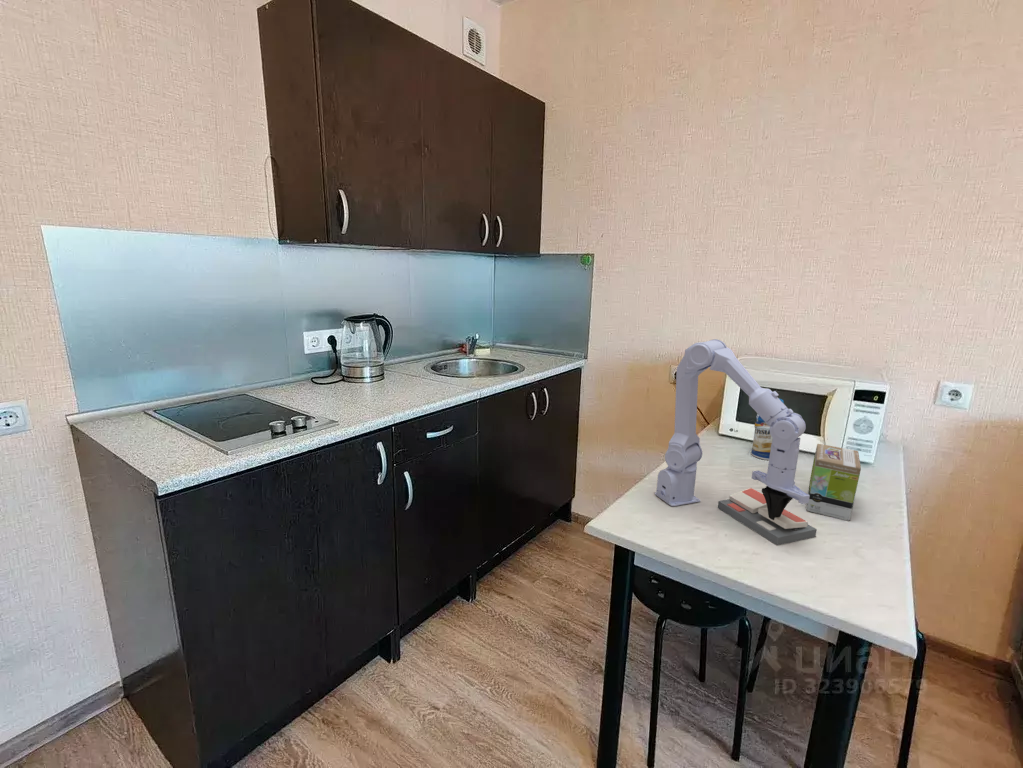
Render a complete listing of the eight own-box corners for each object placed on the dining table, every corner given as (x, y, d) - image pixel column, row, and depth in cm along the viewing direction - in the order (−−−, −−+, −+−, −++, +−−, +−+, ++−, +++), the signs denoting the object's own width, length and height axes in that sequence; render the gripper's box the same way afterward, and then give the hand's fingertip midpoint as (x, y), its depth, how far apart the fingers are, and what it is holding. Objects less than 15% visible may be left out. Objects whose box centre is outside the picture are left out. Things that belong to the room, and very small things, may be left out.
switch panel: (776, 545, 114) (778, 535, 114) (717, 507, 132) (718, 498, 131) (815, 536, 118) (817, 526, 118) (753, 501, 136) (754, 492, 135)
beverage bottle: (781, 456, 169) (790, 399, 164) (773, 463, 163) (782, 404, 158) (755, 449, 174) (763, 394, 170) (746, 456, 168) (754, 399, 164)
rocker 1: (753, 513, 124) (753, 509, 124) (729, 499, 132) (729, 495, 131) (774, 504, 126) (774, 500, 126) (750, 491, 134) (750, 487, 133)
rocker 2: (785, 528, 115) (786, 523, 115) (757, 512, 123) (758, 508, 122) (806, 526, 118) (808, 521, 118) (778, 511, 125) (780, 506, 125)
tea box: (851, 522, 126) (862, 467, 122) (805, 511, 131) (814, 458, 127) (849, 499, 138) (859, 449, 134) (807, 490, 143) (816, 441, 140)
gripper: (823, 475, 111) (813, 530, 114) (770, 452, 124) (762, 502, 127) (799, 479, 108) (790, 535, 112) (748, 455, 122) (741, 506, 125)
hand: (774, 518), depth 119 cm, fingers closed, pressing on rocker 2
